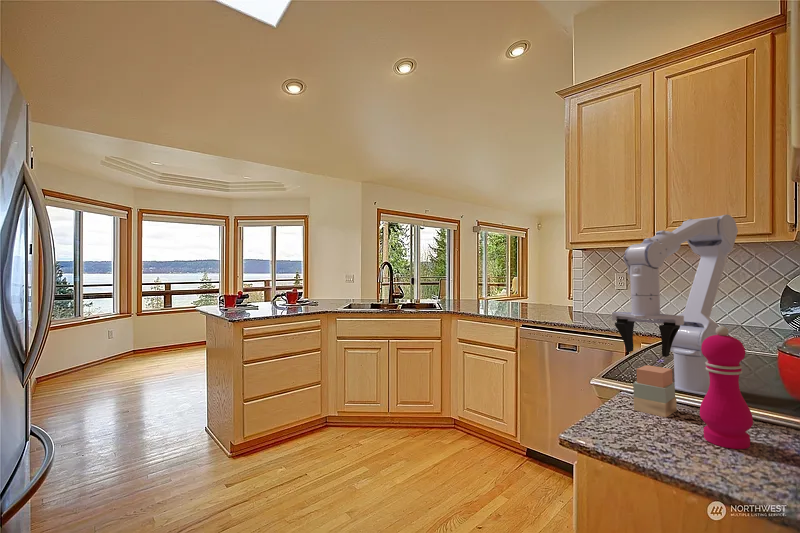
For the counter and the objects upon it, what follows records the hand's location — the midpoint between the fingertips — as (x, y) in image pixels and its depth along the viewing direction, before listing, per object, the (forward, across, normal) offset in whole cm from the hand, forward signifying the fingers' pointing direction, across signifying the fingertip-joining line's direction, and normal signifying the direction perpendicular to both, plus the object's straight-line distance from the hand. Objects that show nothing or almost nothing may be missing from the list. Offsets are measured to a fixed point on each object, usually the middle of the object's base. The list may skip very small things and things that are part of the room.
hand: (647, 353), depth 93 cm
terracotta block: (+5, +4, -7) cm, 9 cm away
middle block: (+8, +4, -7) cm, 11 cm away
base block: (+11, +4, -7) cm, 13 cm away
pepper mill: (+11, +18, -15) cm, 26 cm away
